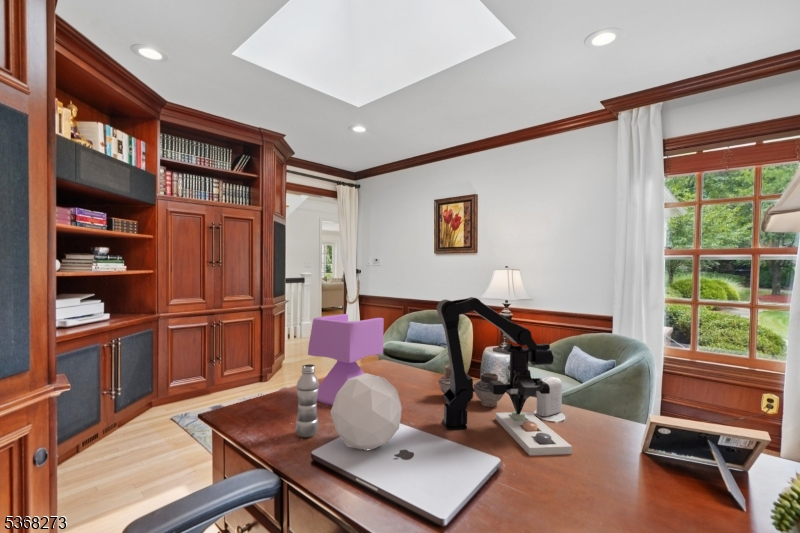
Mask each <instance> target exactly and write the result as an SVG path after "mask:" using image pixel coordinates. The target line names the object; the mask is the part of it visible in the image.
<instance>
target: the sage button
mask: <svg viewBox="0 0 800 533" xmlns="http://www.w3.org/2000/svg"><path fill="white" fill-rule="evenodd" d="M522 412H523V411H521V413H520V414H517V413H516V411H515V410H514V411H511V413H512V419H513V420H514V421H520V420H525V414H524V413H522Z"/></svg>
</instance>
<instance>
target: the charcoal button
mask: <svg viewBox="0 0 800 533" xmlns="http://www.w3.org/2000/svg"><path fill="white" fill-rule="evenodd" d="M536 442H537V443H538V444H539V445H547V444H551V436H550V435H548V434H546V433H537V434H536Z"/></svg>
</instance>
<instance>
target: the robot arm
mask: <svg viewBox="0 0 800 533" xmlns="http://www.w3.org/2000/svg"><path fill="white" fill-rule="evenodd" d="M436 312H437V316H438V318H439V320H440V323H441V324H442V327H443V330H444V335H445V341H446V346H447V347H446V348H447V353H448V358H449V359H448V360H449V365H450V366H451V377H450V388H449V389H448V390H447V391H446V392H445V393H443V394H442V397H443V400H444V402H445V403H444V404H443V419H442V423H443V425H444V427H445V428H446V430H465V429H466V430H467V429H468V426H467V424H468V410H467V408H468V405H469V403H470V402H471V401H472V399H473V397H474V393H475V390H474V380H473V378H472V377H471V376H470V375H469V374H468V373H466V371H465V370H466V369H465V364H464V358H463V352H462V345H461V339H460V335H459V324H460V315H464V314H468V313H470V312H474V313H476V314H477V315H479V316H480V317H481V318H483V319H485V320H486V321H488V322H489V323H491V324H492V325H493V326H495V327H496V328H498V329H499V330H500V331H501V333H503V335H504V336H505V337H506V338H507V339H508V340H509V341H510V342H512V343H515V344H516V345H513V344H512V343H508V344H507V345H506V346H504V347H503V351H506V352H507V353H509V366H507V370H509V377H508V378H507V383H504V382H503V381H502V380H498V381H489V383H488V389H489V390H490V391H491V392H492V393H493V394H496V395H502V394H504V395H505V393H506V394H507V395H508V396H509V397H510V400H511V403H512V405H513V408H514V411H516V413H517V414H520V413H521V412H522V411H523V407H524V405H525V403H526V402H527V399H528V398H530V397H535V396H537V391H539V392H540V393H541V394H550V387H549V385H548V384H547V383H545V382H543V381H542V379H543V378H540V377H538V378H537V377H536V378H534V377H533V378H532V376H531V370H529V364H530V365H532V366H551V365H552V364H553V362H554V355H553V352H552V349H551V345H550V344H549V343H540V344H538V343H536V341H535V340H534V339H533V338H532V336H533V334H532V332H531V330H529V328H526V327H525V326H522V325H521V324H518V323H515V322H513V321H511V320H509V319H507V318H506V317H504V315H502V314H500V313H498V312H497V311H496V310H494V309H493V308H491V307H490V306H488V305H487V304H485V303H484V302H482V301H481V300H480V299H479V298H478V297H473V296H471V297H468V298H462V299H455V300H449V299H442V300H440V301H439V302H438V303H437V305H436ZM523 346H524V347H526V348H524V347H523Z"/></svg>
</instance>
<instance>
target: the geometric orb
mask: <svg viewBox="0 0 800 533" xmlns="http://www.w3.org/2000/svg"><path fill="white" fill-rule="evenodd" d="M399 396H400V395H399V392H398V389H397V388H396V387H395V386H394V385H393V384H392V383H391V382H390V381H389V380H387V379H386V378H385V377H383V376H378V375H376V374H375V375H374V374H372V373H371V374H370V373H367V372H366V373H365V372H364V374H362V375H359V376H356V377H353V378H350V379H348V380H347V381H346V382H345V384H344V385H343V386H342V388H341V389H340V390H339V391H338V393H337V394H336V397H335V400H334V403H333V405H331V410H330V412H329V414H330V417H331V420H332V422H333V425H334V429H335V431H336V434H337V435H338V436H339V438H341V440H342V441H343V442H344V443H345V445H346V446H347V447H349V448H354V449H357V448H358V449H357V450H362V449H365V450H364V451H366V450H367V449H371V450H374V449H376V448H378V446H379V447H380V446H384V445H386V444H388V443H389V441H390V440H391V439H392V437H394V436H395V434H396V433H397V432H398V431H399V429H400V426H401V425H400V424H401V418H402V411H403V407H402V402H401V399H400V397H399ZM373 448H374V449H373Z"/></svg>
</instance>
